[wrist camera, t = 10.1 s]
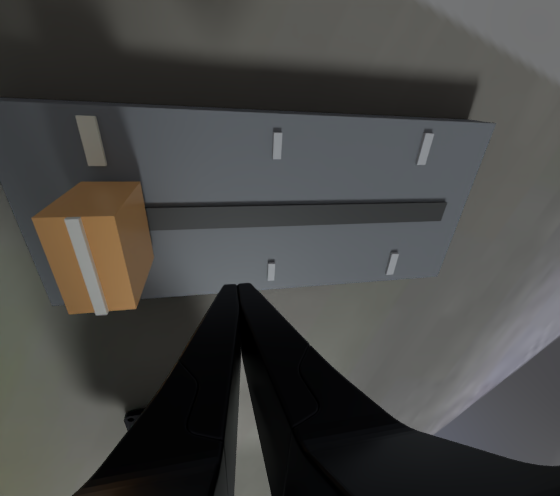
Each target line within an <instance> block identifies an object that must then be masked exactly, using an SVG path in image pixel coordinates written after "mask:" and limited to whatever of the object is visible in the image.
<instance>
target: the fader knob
mask: <svg viewBox="0 0 560 496" xmlns="http://www.w3.org/2000/svg"><path fill="white" fill-rule="evenodd" d="M31 219H32V221H33V224H34V226H35V229H36V232H37V234H38V237H39V239H40V242H41V244H42V247H43V249H44V252H45V255H46V257H47V260H48V262H49V265H50V267H51V270H52V273H53V275H54V278H55V280H56V283H57V285H58V288H59V290H60V293H61V296H62V298H63V301H64V303H65V306H66V308H67V311H68V314H81V313H93V312H95V314H96V316H97V315H107V314H108V312H109V311H117V310H129V309H137V306H138V303H139V300H140V297H141V294H142V291H143V288H144V285H145V282H146V280H147V277H148V274H149V271H150V268H151V265H152V262H153V259H154V255H153V249H152V243H151V238H150V232H149V227H148V221H147V216H146V210H145V205H144V199H143V194H142V188H141V183H140V181H137V182H80V183H78V184H77V185H76V186H74V187H73V188H71V189H70V190H69V191H67V192H66V193H65V194H63V195H62V196H61V197H59V198H58V199H56V200H55V201H54V202H52V203H51V204H50V205H48V206H47V207H45V208H44V209H43V210H41V211H40V212H39V213H37V214H36V215H35V216H33V217H32V218H31Z"/></svg>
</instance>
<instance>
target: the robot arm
mask: <svg viewBox="0 0 560 496" xmlns="http://www.w3.org/2000/svg"><path fill="white" fill-rule="evenodd" d="M241 353H242V359H243V364H244V369H245V373H246V378H247V383H248V387H249V392H250V397H251V401H252V406H253V411H254V415H255V420H256V425H257V429H258V434H259V439H260V443H261V448H262V453H263V457H264V462H265V467H266V471H267V476H268V481H269V485H270V490H271V495H272V496H560V466H543V465H535V464H530V463H524V462H521V461H517V460H513V459H509V458H506V457H503V456H499V455H496V454H493V453H489V452H486V451H483V450H479V449H476V448H473V447H469V446H466V445H463V444H459V443H456V442H453V441H449V440H446V439H443V438H439V437H436V436H433V435H430V434H426V433H423V432H420V431H417V430H415V429H412V428H410V427H408V426H406V425H405V424H403V423H401V422H399V421H398V420H396V419H395V418H393V417H392V416H391V415H390V414H388V413H387V412H386V411H384V410H383V409H382V408H381V407H380V406H378V405H377V404H376V403H375V402H374V401H372V400H371V399H370V398H369V397H368V396H366V395H365V394H364V393H363V392H362V391H360V390H359V389H358V388H357V387H355V386H354V385H353V384H352V383H351V382H349V381H348V380H347V379H346V378H345V377H344V376H342V375H341V374H340V373H339V372H338V371H337V370H336V369H334V368H333V367H332V366H331V365H330V364H329V363H328V362H327V361H326V360H325V359H324V358H323V357H322V356H321V355H320V354H319V353H318V352H317V351H316V350H315V349H314V348H313V347H312V346H310V344H309V343H308V342H307V341H306V340H305V339H304V338H303V337H302V336H301V335H300V334H299V333H298V332H297V331H296V330H295V328H294V327H293V326H292V325H291V324H290V323H289V322H288V321H287V320H286V319H285V318H284V317H283V316H282V315H281V314H280V313H279V312H278V311H277V310H276V309H275V308H274V307H273V306H272V305H271V304H270V303H269V302H268V301H267V299H266V298H265V297H264V296H263V295H262V294H261V293H260V292H259V291H258V290H257V289H256V288H255V287H254V286H253V285H252V284H251V283H239V284H238V285H236V284H225V285H223V286H222V288H221V290H220V291H219V293H218V295H217V296H216V298H215V300H214V301H213V303H212V305H211V306H210V308H209V309H208V311H207V313H206V314H205V316H204V318H203V319H202V321H201V323H200V324H199V326H198V328H197V329H196V331H195V333H194V334H193V336H192V338H191V339H190V341H189V343H188V344H187V346H186V347H185V349H184V351H183V352H182V354H181V356H180V357H179V359H178V362H176V364H175V365H174V367H173V369H172V370H171V372H170V374H169V375H168V377H167V378H166V380H165V381H164V383H163V384H162V386H161V388H160V389H159V391H158V392H157V393H156V395H155V396H154V397H153V399H152V400H151V401H150V403H149V404H148V405H147V407H146V408H145V409H144V410H137V411H131V412H128V413H126V415H125V418H124V422H125V425H126V428H127V433H126V434H125V435H124V437H123V438H122V439H121V441H120V442H119V443H118V444H117V446H116V447H115V448H114V450H113V451H112V452H111V453H110V455H109V456H108V457H107V459H106V460H105V461H104V462H103V464H102V465H101V466H100V467H99V469H98V470H97V471H96V472H95V473H94V474H93V476H92V477H91V478H90V479H89V480H88V481H87V482H86V483H85V484H84V485H83V486H82V487H81V488H80V489H79V490H78V491H77V492H75V493H74V494H73V495H72V496H234V486H235V466H236V447H237V427H238V407H239V387H240V368H241Z"/></svg>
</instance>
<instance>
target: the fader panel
mask: <svg viewBox="0 0 560 496" xmlns="http://www.w3.org/2000/svg"><path fill="white" fill-rule="evenodd" d="M495 125H496V123H490V122H482V121H475V120H467V119H446V118H425V117H404V116H382V115H361V114H340V113H319V112H298V111H277V110H255V109H234V108H213V107H192V106H171V105H150V104H128V103H107V102H86V101H65V100H44V99H23V98H2V97H0V183H1V185H2V187H3V190H4V192H5V195H6V197H7V199H8V202H9V204H10V206H11V209H12V211H13V214H14V216H15V218H16V221H17V223H18V226H19V228H20V230H21V233H22V235H23V238H24V240H25V242H26V245H27V247H28V249H29V252H30V254H31V257H32V259H33V261H34V264H35V266H36V269H37V271H38V273H39V276H40V278H41V280H42V283H43V285H44V288H45V290H46V292H47V295H48V297H49V300H50V302H51V304H52V306H59V305H65V303H64V301H63V298H62V296H61V293H60V290H59V288H58V285H57V283H56V280H55V278H54V275H53V273H52V270H51V267H50V265H49V262H48V260H47V257H46V255H45V252H44V249H43V247H42V244H41V242H40V239H39V237H38V234H37V232H36V229H35V226H34V224H33V221H32V219H31V218H32V217H33V216H35V215H36V214H37V213H39V212H40V211H41V210H43V209H44V208H45V207H47V206H48V205H50V204H51V203H52V202H54V201H55V200H56V199H58V198H59V197H61V196H62V195H63V194H65V193H66V192H67V191H69V190H70V189H71V188H73V187H74V186H76V185H77V184H78V183H80V182H137V181H140V183H141V188H142V194H143V199H144V205H145V210H146V216H147V221H148V227H149V232H150V238H151V243H152V249H153V255H154V259H153V262H152V265H151V268H150V271H149V274H148V277H147V280H146V282H145V285H144V288H143V291H142V294H141V297H140V299H150V298H163V297H176V296H189V295H202V294H215V293H219V291H220V290H221V288H222V286H223V285H225V284H236V285H238V284H239V283H251V284H252V285H253V286H254V287H255V288H256V289H257V290H267V289H280V288H294V287H307V286H320V285H333V284H346V283H359V282H372V281H385V280H398V279H411V278H424V277H437V276H438V273H439V271H440V268H441V266H442V263H443V260H444V258H445V255H446V253H447V250H448V247H449V245H450V242H451V240H452V237H453V234H454V232H455V229H456V227H457V224H458V221H459V219H460V216H461V214H462V211H463V208H464V206H465V203H466V201H467V198H468V195H469V193H470V190H471V188H472V185H473V182H474V180H475V177H476V175H477V172H478V169H479V167H480V164H481V161H482V159H483V156H484V154H485V151H486V148H487V146H488V143H489V141H490V138H491V135H492V133H493V130H494V128H495Z"/></svg>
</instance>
